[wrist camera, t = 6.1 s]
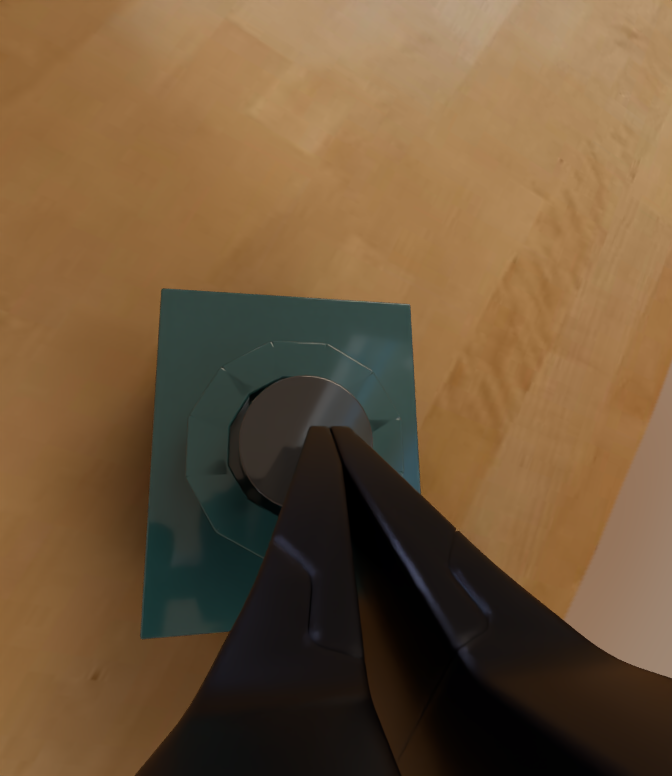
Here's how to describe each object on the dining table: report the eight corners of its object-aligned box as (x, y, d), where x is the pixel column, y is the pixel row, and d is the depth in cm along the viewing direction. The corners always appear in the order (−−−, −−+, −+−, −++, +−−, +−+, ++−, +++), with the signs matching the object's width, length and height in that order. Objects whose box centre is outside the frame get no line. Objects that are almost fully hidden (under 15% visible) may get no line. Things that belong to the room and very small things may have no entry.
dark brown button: (356, 505, 14) (376, 509, 12) (237, 509, 13) (236, 514, 11) (353, 390, 15) (371, 376, 13) (239, 388, 14) (239, 372, 12)
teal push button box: (368, 572, 22) (452, 632, 13) (173, 585, 20) (124, 664, 11) (361, 354, 24) (430, 283, 15) (185, 347, 22) (150, 262, 14)
